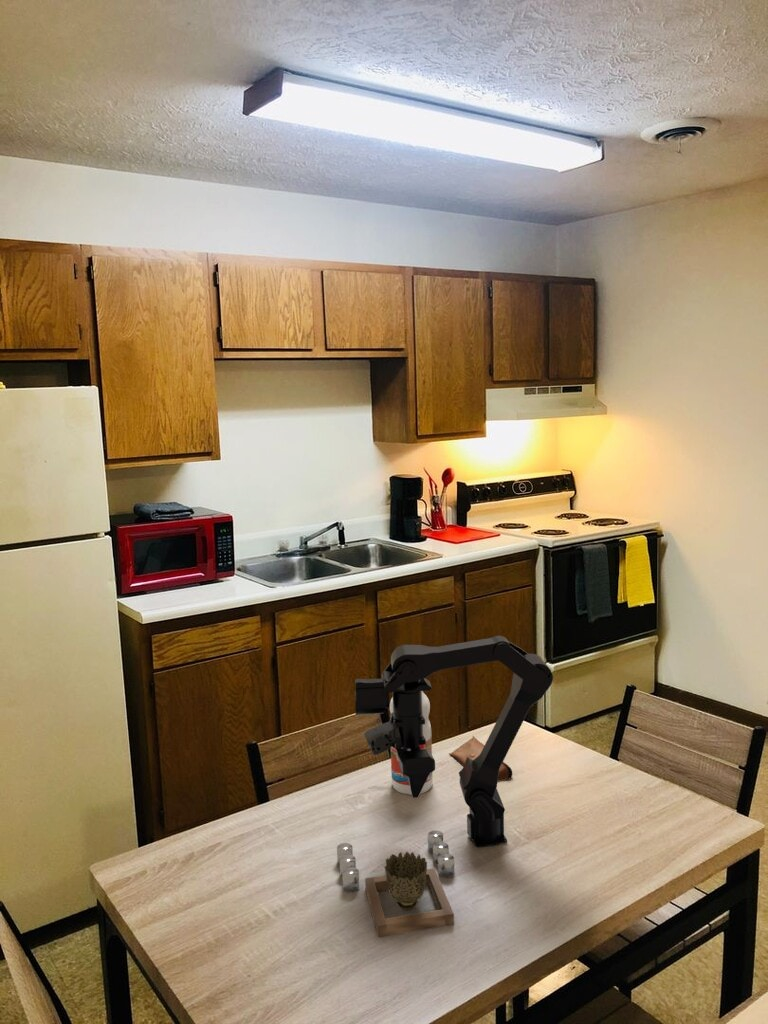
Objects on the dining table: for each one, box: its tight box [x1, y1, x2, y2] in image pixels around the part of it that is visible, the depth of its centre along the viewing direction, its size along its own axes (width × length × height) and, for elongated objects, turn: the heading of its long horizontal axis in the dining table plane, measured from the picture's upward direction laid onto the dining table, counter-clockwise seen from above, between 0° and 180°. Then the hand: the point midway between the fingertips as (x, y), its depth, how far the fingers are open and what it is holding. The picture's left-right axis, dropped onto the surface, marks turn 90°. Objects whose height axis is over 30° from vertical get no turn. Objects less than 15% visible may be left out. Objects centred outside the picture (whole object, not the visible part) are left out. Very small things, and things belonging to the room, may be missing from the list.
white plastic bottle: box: [389, 691, 434, 796], centre depth 175 cm, size 9×9×28 cm
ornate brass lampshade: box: [383, 851, 428, 911], centre depth 135 cm, size 8×7×8 cm
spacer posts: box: [336, 830, 455, 893], centre depth 147 cm, size 21×11×3 cm, turn 101°
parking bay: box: [364, 867, 455, 937], centre depth 136 cm, size 13×13×2 cm
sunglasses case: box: [448, 735, 513, 782], centre depth 186 cm, size 18×7×7 cm, turn 22°
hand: (410, 785), depth 153 cm, fingers open, 9 cm apart
